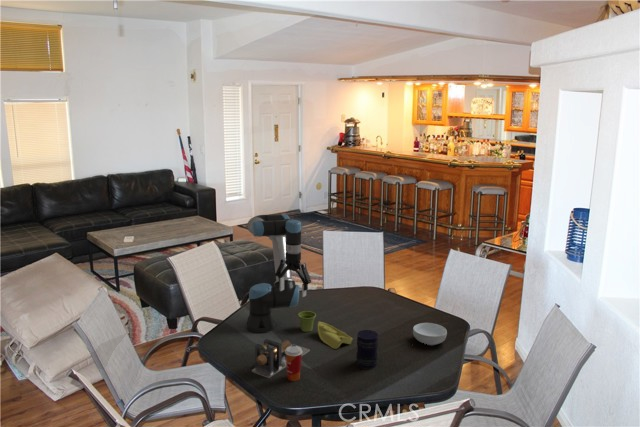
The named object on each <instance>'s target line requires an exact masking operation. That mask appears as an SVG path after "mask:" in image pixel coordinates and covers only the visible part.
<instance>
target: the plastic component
mask: <svg viewBox="0 0 640 427" xmlns="http://www.w3.org/2000/svg"><path fill="white" fill-rule="evenodd" d="M316 326H317V327H316V329H317V335H318V337H319V339H320V340H321V341H322V342H323V343H324V344H326V345H327V346H329V348H332V349H334V350H336V349H338V348H340V347H341V345H342V344H345V345H351V344H352V341H353V340H354V339H353V337H351V336H350V335H348V334H346V333H345V332H344V331H341V330H340V329H338V328H336V327H335V326H333V325H331V324H329V323H326V322H323V321H320V320H318V322H317V325H316Z"/></svg>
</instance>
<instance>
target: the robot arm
mask: <svg viewBox="0 0 640 427" xmlns="http://www.w3.org/2000/svg"><path fill="white" fill-rule="evenodd" d="M246 227H247V230H248V231H249V233H251V234H252V235H253V237H268V239H269V240H270V241H271V244H272V252H273V261H274V262H273V263H274V270H275V275H274V276H275V279H276V280H275V282H274V283H273V286H272V285H271V284H270V283H266V282H262V283H257V284H254V285H253V286H251V287H250V289H249V294H248V298H249V299H248V300H249V304H248V305H249V307H248V308H249V314H248V317H247V321H246V325H245V327H246V330H247V331H249V332H251V333H253V334H254V333H256V334H263V333H269V332H271V331H273V330H274V329H275V325H276V324H275V320H274V318H273V315H272V309H284V308H285V309H286V308H289V309H290V308H294V307H297V306H298V304H299V301H300V285H299V284H296V281H295V280H294V279H293V276H292V271H293V272H295V273H296V274H297V275H298V277H299V279H300V280H301V281H302V284H301V297H302V298H304V297H306V296H307V291H308V289H309V288H308V287H309V284H311V283H312V279H311V276H310V274H309V271H308V269H307V264H306V262H304V263H301V260H302V253H301V251H302V229H303V228H302V222H301V221H300V220H298V219H292V218H290V216H289V215H288V214H286V213H285V214H284V213H278V214H276V213H275V214H259V215H256V216H253V217H252V218H250V219H249V220H248V222H247V226H246Z"/></svg>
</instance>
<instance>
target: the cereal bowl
mask: <svg viewBox="0 0 640 427" xmlns="http://www.w3.org/2000/svg"><path fill="white" fill-rule="evenodd" d="M412 333H413V336H414V338H415V339H416V340H417V341H418V342H420V343H422V344H423V343H424V345H426V344H427V346H435V345H439V344H441V343H443V342H444V341H445V340H446V338H447V335H448V331H447V329H446V327H444V326H442V325H440V324H439V323H438V324H437V323H432V322H421V323H418V324H415V325H414V326H413V328H412Z"/></svg>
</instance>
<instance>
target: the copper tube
mask: <svg viewBox="0 0 640 427" xmlns="http://www.w3.org/2000/svg"><path fill="white" fill-rule="evenodd" d="M290 343H291V342H290V341H289V340H288V339H285V340H283V341H281V342H280V344H282V353H283V352H285V350H286V348H287V347H289V346H291V345H292V343H291V344H290ZM272 349H273V359H274V358H275V357H277V347H274V346H272ZM256 361H257V363H258V365H260V366H262V365H264V364H266V363H268V352H265V353H264V352H262V353H260V356H258V357H257V358H256Z"/></svg>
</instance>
